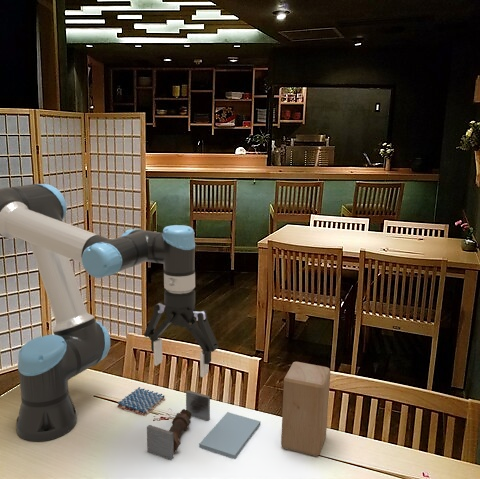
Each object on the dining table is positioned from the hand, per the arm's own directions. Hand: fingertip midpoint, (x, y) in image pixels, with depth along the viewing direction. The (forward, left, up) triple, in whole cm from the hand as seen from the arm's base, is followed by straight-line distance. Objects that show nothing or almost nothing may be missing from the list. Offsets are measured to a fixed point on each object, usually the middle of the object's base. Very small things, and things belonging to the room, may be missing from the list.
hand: (180, 369), depth 126 cm
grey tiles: (0, 0, -19) cm, 19 cm away
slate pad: (+12, +6, -19) cm, 23 cm away
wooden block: (+30, +12, -19) cm, 37 cm away
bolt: (-1, 0, -19) cm, 19 cm away
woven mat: (-18, +8, -20) cm, 28 cm away
